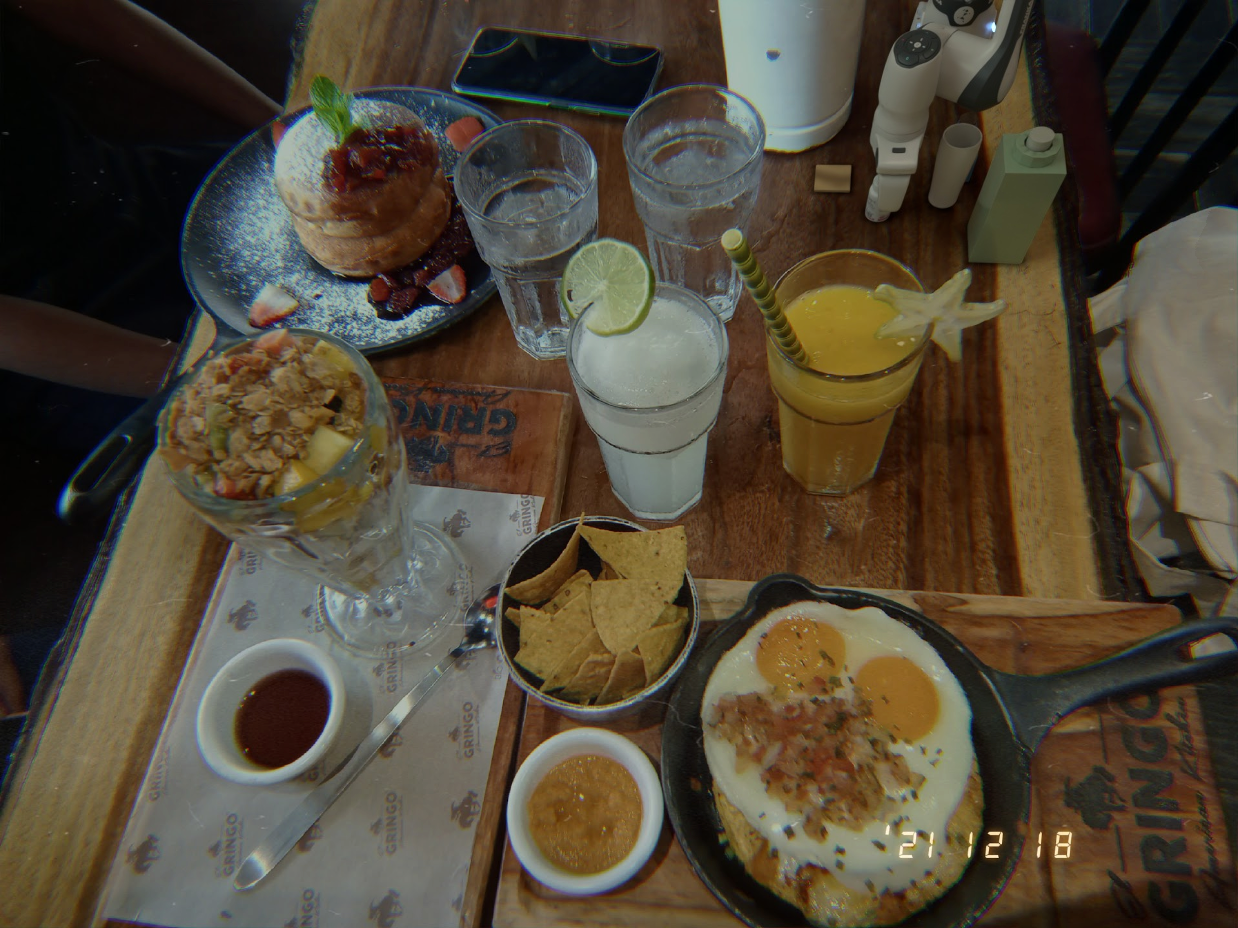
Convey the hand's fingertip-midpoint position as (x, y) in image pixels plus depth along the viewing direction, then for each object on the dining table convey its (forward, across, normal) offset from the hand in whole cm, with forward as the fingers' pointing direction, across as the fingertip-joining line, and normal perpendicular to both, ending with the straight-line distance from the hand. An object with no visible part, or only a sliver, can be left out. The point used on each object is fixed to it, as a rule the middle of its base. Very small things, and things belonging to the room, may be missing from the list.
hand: (883, 193), depth 139 cm
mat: (+6, -10, -9) cm, 14 cm away
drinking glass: (+6, -4, +12) cm, 14 cm away
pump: (-17, +7, +21) cm, 28 cm away
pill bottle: (+6, 0, 0) cm, 6 cm away
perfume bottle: (+6, -12, +14) cm, 19 cm away
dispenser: (+6, +7, +21) cm, 22 cm away
